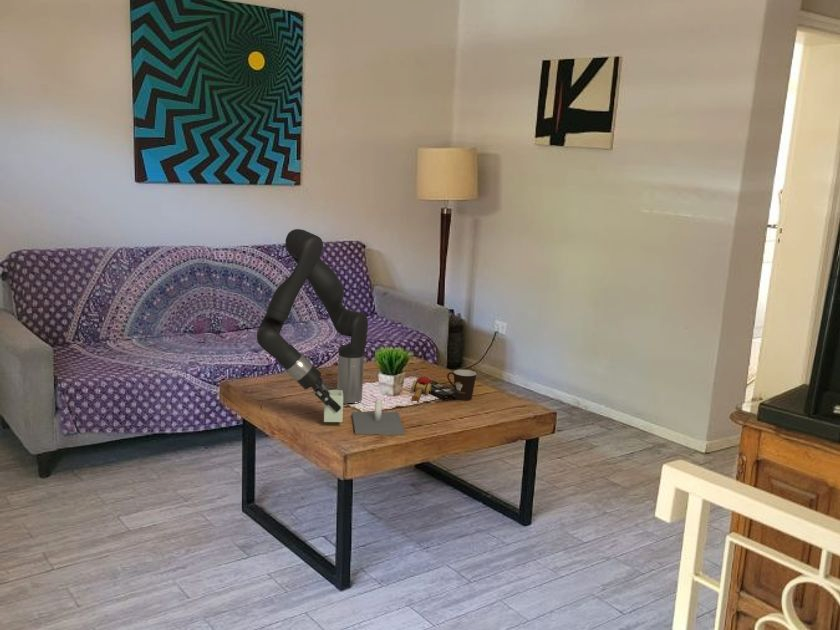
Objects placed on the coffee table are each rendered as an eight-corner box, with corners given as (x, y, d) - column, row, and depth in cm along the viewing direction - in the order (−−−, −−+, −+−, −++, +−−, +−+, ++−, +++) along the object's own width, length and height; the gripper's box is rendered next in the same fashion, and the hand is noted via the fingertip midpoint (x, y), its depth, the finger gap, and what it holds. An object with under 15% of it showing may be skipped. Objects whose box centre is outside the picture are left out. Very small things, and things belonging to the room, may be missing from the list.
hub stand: (352, 415, 276) (353, 390, 274) (397, 416, 279) (399, 391, 277) (355, 434, 259) (356, 407, 257) (404, 434, 261) (405, 408, 259)
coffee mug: (478, 400, 302) (480, 375, 300) (458, 402, 298) (460, 376, 296) (463, 391, 312) (465, 366, 310) (444, 393, 308) (445, 368, 306)
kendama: (427, 407, 294) (436, 387, 311) (424, 391, 293) (433, 372, 309) (407, 408, 296) (416, 388, 313) (404, 393, 294) (414, 373, 311)
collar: (323, 415, 269) (324, 390, 267) (341, 415, 270) (342, 390, 268) (324, 421, 263) (324, 395, 261) (342, 422, 264) (343, 396, 262)
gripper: (312, 370, 254) (348, 406, 258) (311, 358, 268) (345, 392, 272) (294, 386, 254) (331, 421, 259) (295, 373, 268) (329, 406, 273)
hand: (338, 406), depth 266 cm, fingers closed on collar, 6 cm apart
